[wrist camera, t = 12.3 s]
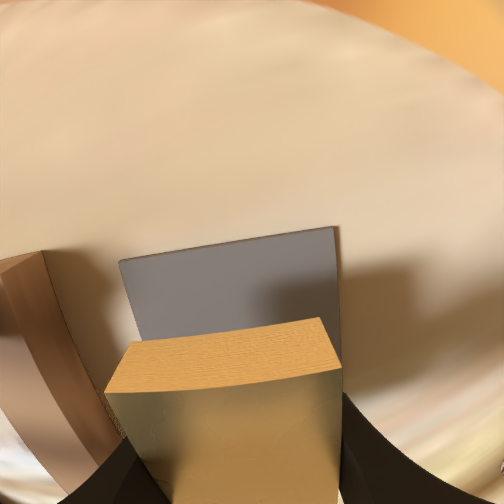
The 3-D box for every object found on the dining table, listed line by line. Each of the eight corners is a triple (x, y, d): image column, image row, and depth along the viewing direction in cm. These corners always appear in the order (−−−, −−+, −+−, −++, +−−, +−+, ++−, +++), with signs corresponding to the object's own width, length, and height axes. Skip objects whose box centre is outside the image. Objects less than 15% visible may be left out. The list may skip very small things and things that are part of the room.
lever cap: (325, 470, 10) (336, 515, 8) (196, 485, 10) (191, 529, 8) (319, 316, 8) (342, 367, 6) (130, 342, 8) (103, 392, 6)
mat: (339, 420, 14) (340, 424, 14) (185, 439, 15) (184, 443, 14) (331, 226, 12) (333, 228, 11) (120, 260, 12) (118, 262, 11)
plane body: (167, 505, 17) (157, 568, 12) (113, 500, 17) (97, 556, 12) (41, 250, 12) (-47, 303, 6) (-19, 264, 12) (-95, 309, 6)
